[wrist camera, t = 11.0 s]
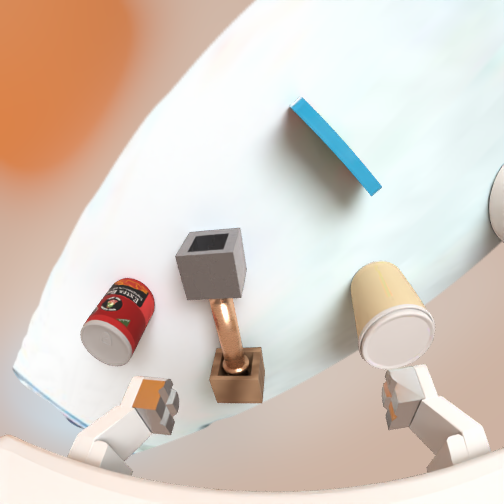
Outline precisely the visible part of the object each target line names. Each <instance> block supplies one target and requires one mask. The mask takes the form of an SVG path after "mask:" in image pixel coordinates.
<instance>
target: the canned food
mask: <svg viewBox="0 0 504 504" xmlns="http://www.w3.org/2000/svg"><path fill="white" fill-rule="evenodd" d="M154 304H155V303H154V298H153V295H152V293H151V291H150V290H149V289H148V288H147V287H146V286H145V285H144V284H143V283H141V282H140V281H137V280H135V279H131V278H124V279H121V280H119V281H117V282H116V283H114V284H113V285H112V287H111V288H110V289H109V291H108V292H107V293H106V295H105V296H104V297H103V299H102V300H101V301H100V303H99V304H98V305H97V307H96V308H95V310H94V311H93V312H92V314H91V315H90V316H89V318H88V319H87V321H86V322H85V324H84V325H83V328H82V330H81V334H80V335H81V340H82V343H83V345H84V346H85V348H86V349H87V351H88V352H89V353H90V354H91V355H92V356H94V357H95V358H96V359H98V360H99V361H101V362H103V363H105V364H108V365H112V366H122V365H125V364H126V363H128V361H129V360H130V358H131V357H132V354H133V353H134V351H135V349H136V347H137V345H138V342H139V340H140V338H141V336H142V334H143V332H144V330H145V328H146V326H147V324H148V322H149V320H150V318H151V316H152V314H153V312H154Z"/></svg>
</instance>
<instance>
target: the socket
mask: <svg viewBox="0 0 504 504" xmlns="http://www.w3.org/2000/svg"><path fill="white" fill-rule="evenodd" d="M243 352H244V355H246V356H247V357H248V359H249V368H248V370H247V371H248V375H249V376H229V374H227V373H226V372H225V371H224V368H223V360H224V355H223V352H222V348H217V349H216V353H215V358H214V362H213V366H212V370H211V375H210V379H209V380H210V383H211V386H212V389H213V392H214V395H215V397H216V400H217V403H262V402H263V389H264V376H265V369H264V363H263V357H262V350H261V347H254V348H243Z"/></svg>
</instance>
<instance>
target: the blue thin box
mask: <svg viewBox="0 0 504 504" xmlns="http://www.w3.org/2000/svg"><path fill="white" fill-rule="evenodd" d="M290 107H291V108H292V109H293V110H294V111H295V112H296V113H297V114H298V115H299V116H300V117H301V119H302V120H303V121H304V122H305V123H306V124H307V125H308V126H309V127H310V128H311V129H312V130H313V131H314V132H315V133H316V134H317V135H318V136H319V137H320V138H321V139H322V140H323V141H324V142H325V144H326V145H327V146H328V147H329V148H330V149H331V150H332V151H333V152H334V153H335V154H336V156H337V157H338V158H339V159H340V160H341V161H342V162H343V163H344V165H345V166H346V167H347V168H348V169H349V170H350V171H351V173H352V174H353V175H354V176H355V177H356V178H357V180H358V181H359V182H360V183H361V184H362V185H363V187H364V188H365V189H366V190H367V191H368V193H369V194H370V195H371V196H373V195H374V194H375V193H376V192H377V191H378V190H380V189H381V188H382V186H381V185H380V184H379V182H378V181H377V180H376V179H375V177H374V176H373V175H372V174H371V172H370V171H369V170H368V169H367V168H366V166H365V165H364V164H363V163H362V162H361V160H360V159H359V158H358V157H357V156H356V155H355V153H354V152H353V151H352V150H351V149H350V148H349V147H348V145H347V144H346V143H345V142H344V141H343V140H342V139H341V138H340V136H339V135H338V134H337V133H336V132H335V131H334V130H333V129H332V128H331V127H330V126H329V124H328V123H327V122H326V121H325V120H324V119H323V118H322V117H321V116H320V115H319V114H318V113H317V112H316V111H315V110H314V109H313V108H312V107H311V106H310V105H309V104H308V103H307V102H306V101H305V100H304V99H303V98H302V97H298V98H297V99H296V100H295V101H294V102H293V103H292V104H291V105H290Z"/></svg>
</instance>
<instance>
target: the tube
mask: <svg viewBox="0 0 504 504" xmlns="http://www.w3.org/2000/svg"><path fill="white" fill-rule="evenodd" d="M209 301H210V305H211V309H212V313H213V317H214V321H215V325H216V329H217V333H218V337H219V340H220V344H221V348H222V352H223V355H224V360H223V368H224V371H225V372H226V373H227V374H229V376H249V375H248V371H247V370H248V368H249V359H248V357H247V356H246V355H244V352H243V347H242V342H241V337H240V332H239V327H238V323H237V318H236V313H235V308H234V303H233V298H224V299H209Z"/></svg>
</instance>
